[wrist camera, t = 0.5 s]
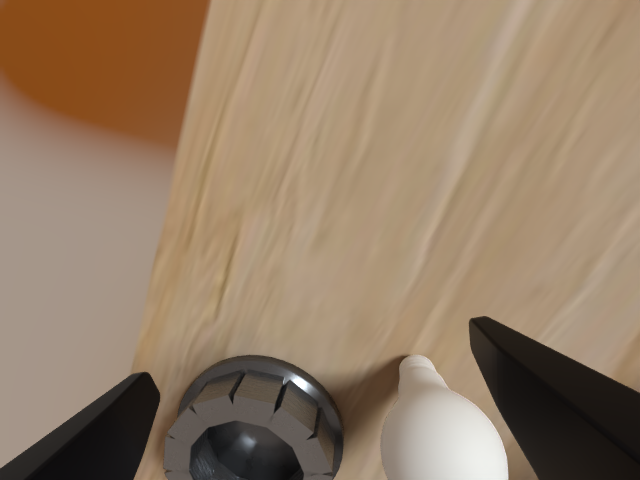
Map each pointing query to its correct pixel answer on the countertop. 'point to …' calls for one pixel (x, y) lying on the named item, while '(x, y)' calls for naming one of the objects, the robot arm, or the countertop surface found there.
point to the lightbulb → (438, 431)
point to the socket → (255, 425)
